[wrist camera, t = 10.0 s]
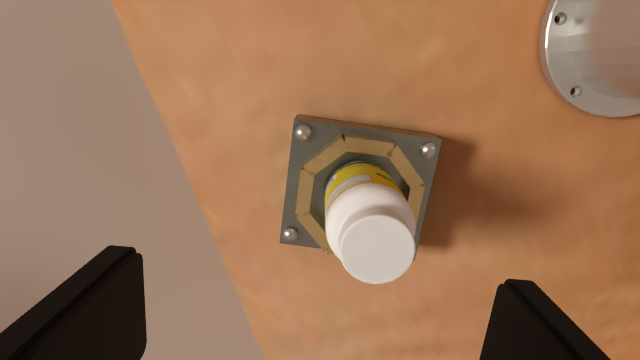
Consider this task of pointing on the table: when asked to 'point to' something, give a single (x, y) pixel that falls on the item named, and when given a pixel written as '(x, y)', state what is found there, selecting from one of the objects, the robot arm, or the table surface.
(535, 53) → the table surface
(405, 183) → the octagonal bottle holder
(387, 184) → the supplement bottle
